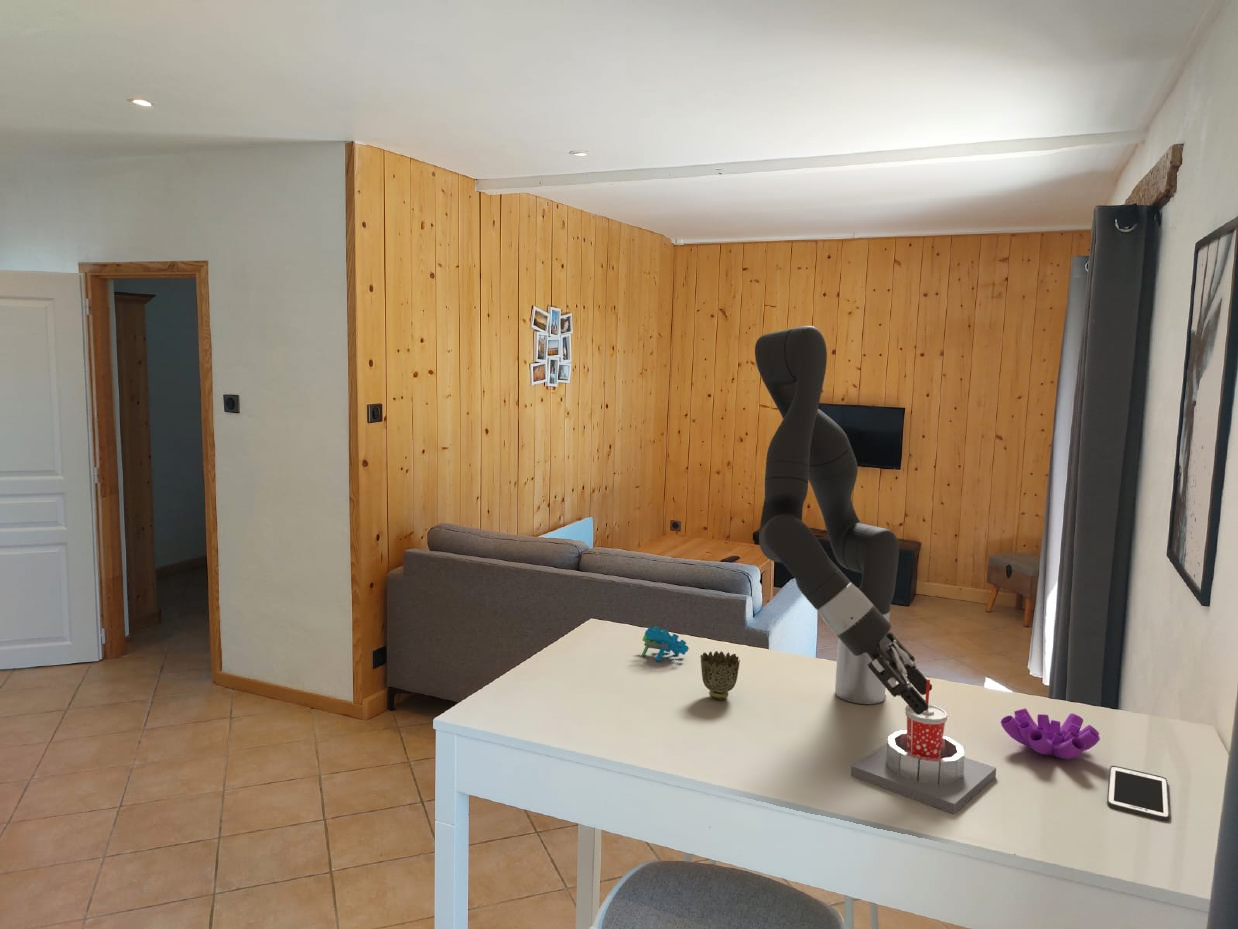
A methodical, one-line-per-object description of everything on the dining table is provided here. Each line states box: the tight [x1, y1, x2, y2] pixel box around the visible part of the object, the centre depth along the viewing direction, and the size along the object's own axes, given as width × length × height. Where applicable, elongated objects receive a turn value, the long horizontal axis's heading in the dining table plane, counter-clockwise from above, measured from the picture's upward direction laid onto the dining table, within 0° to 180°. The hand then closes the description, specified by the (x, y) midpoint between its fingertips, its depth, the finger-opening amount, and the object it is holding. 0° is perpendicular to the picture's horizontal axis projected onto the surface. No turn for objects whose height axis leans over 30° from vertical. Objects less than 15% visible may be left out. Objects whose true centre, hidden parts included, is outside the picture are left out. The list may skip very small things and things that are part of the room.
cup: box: [700, 650, 741, 701], centre depth 160 cm, size 8×7×8 cm
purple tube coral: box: [1000, 708, 1101, 760], centre depth 140 cm, size 11×15×10 cm
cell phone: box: [1106, 765, 1171, 822], centre depth 127 cm, size 8×15×1 cm, turn 149°
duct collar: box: [886, 729, 966, 785], centre depth 131 cm, size 11×11×4 cm
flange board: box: [850, 742, 997, 815], centre depth 131 cm, size 16×16×2 cm
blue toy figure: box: [641, 626, 690, 663], centre depth 182 cm, size 11×6×10 cm
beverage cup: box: [904, 678, 948, 759], centre depth 130 cm, size 6×6×14 cm
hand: (925, 701), depth 130 cm, fingers open, 8 cm apart
